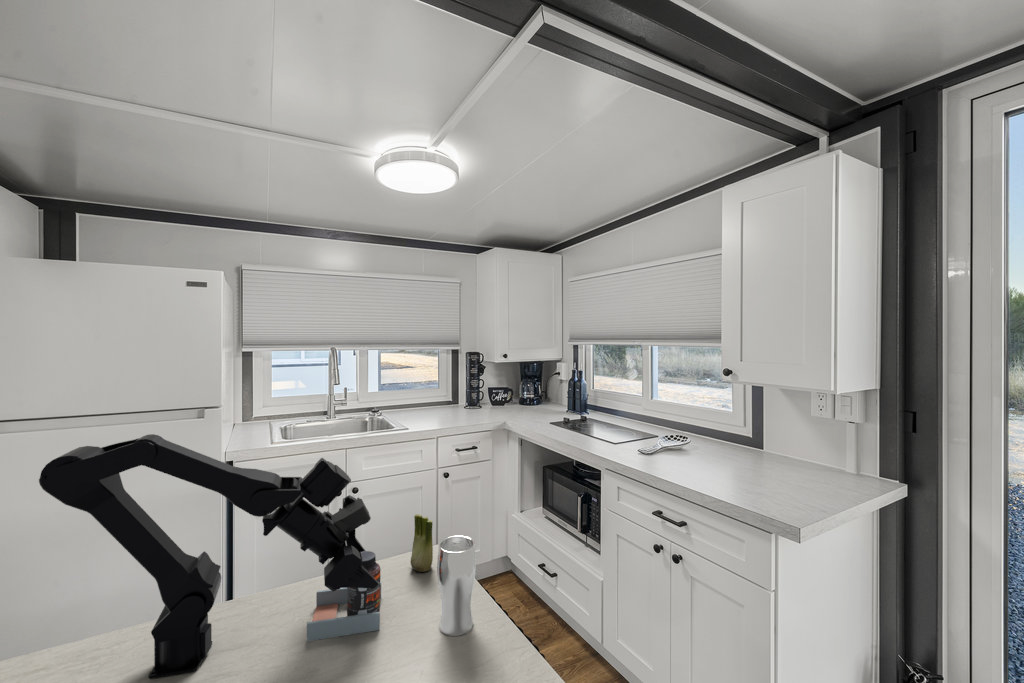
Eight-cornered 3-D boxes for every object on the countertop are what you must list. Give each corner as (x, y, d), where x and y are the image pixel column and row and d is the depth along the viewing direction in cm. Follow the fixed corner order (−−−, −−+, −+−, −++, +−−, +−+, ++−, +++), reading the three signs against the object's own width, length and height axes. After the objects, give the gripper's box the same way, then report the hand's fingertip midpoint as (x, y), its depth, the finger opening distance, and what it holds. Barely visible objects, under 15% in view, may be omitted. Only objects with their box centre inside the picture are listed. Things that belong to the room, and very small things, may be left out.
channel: (306, 641, 75) (306, 624, 75) (316, 606, 85) (316, 591, 85) (379, 629, 78) (379, 613, 78) (381, 597, 88) (381, 582, 88)
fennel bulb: (435, 573, 97) (435, 519, 97) (412, 577, 95) (413, 523, 95) (429, 560, 102) (430, 510, 102) (408, 564, 101) (408, 513, 100)
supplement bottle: (370, 627, 79) (370, 565, 79) (340, 623, 80) (340, 562, 80) (386, 607, 85) (386, 549, 84) (358, 603, 86) (358, 546, 86)
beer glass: (480, 616, 82) (480, 537, 82) (468, 641, 76) (468, 555, 75) (445, 610, 84) (446, 533, 84) (430, 634, 77) (431, 550, 77)
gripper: (346, 507, 72) (413, 560, 77) (339, 474, 89) (394, 519, 94) (293, 565, 69) (366, 616, 73) (296, 519, 86) (356, 563, 90)
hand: (373, 573), depth 83 cm, fingers open, 9 cm apart
